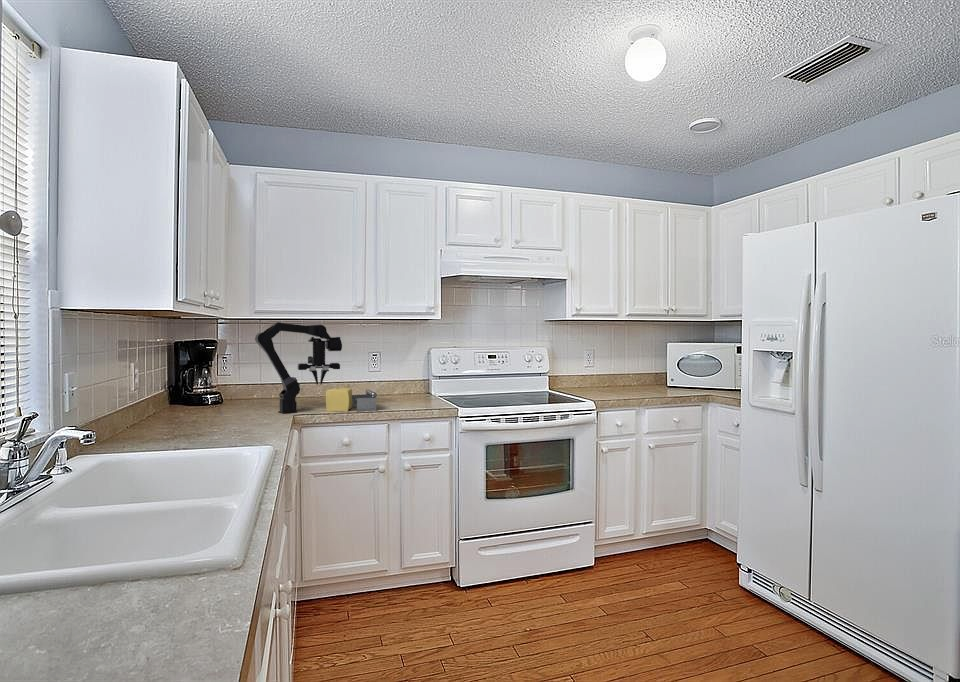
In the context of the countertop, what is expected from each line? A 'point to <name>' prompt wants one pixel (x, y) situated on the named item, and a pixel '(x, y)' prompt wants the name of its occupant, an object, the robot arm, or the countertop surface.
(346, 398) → the cheese
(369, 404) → the leaf bracket
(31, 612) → the countertop surface
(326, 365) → the robot arm
